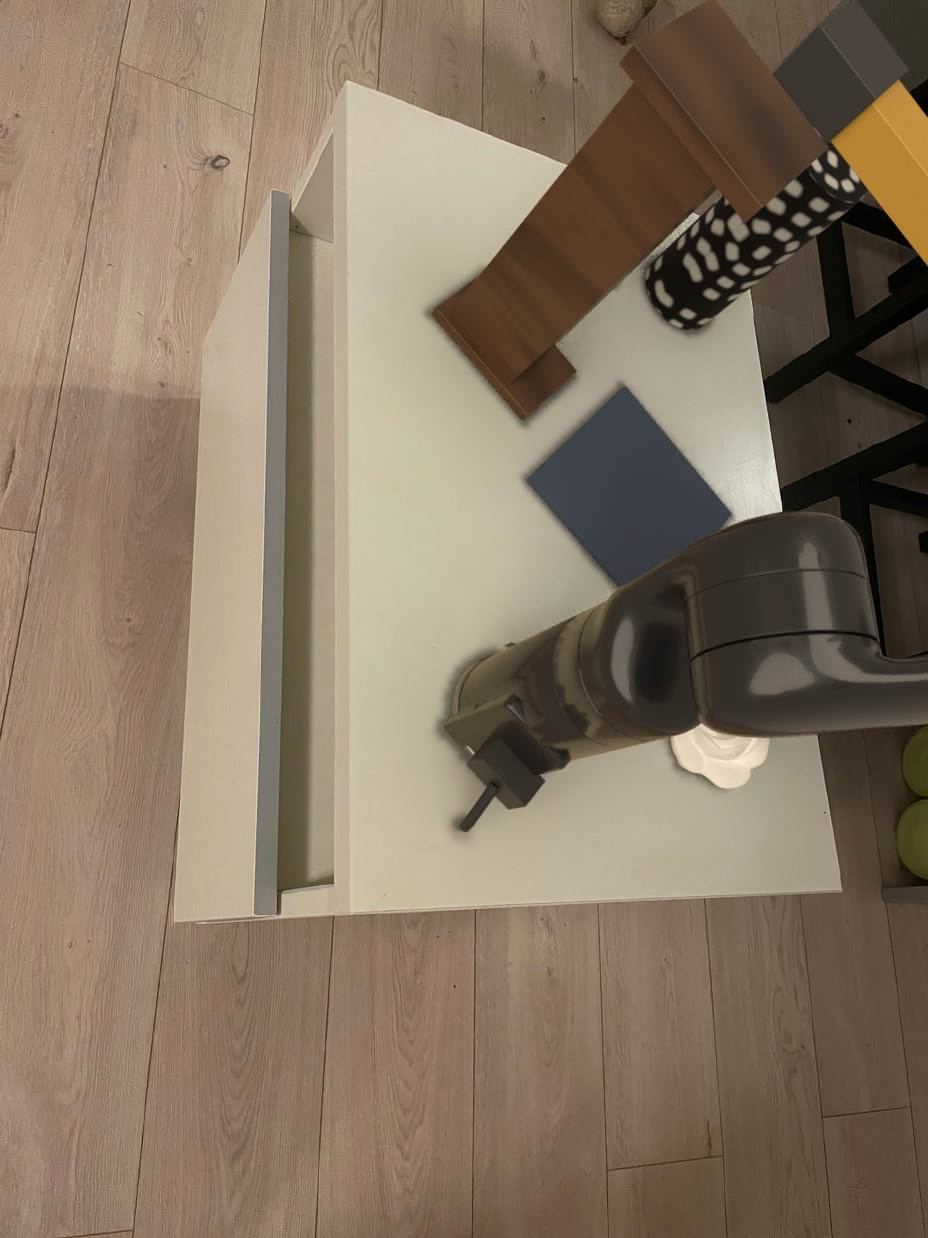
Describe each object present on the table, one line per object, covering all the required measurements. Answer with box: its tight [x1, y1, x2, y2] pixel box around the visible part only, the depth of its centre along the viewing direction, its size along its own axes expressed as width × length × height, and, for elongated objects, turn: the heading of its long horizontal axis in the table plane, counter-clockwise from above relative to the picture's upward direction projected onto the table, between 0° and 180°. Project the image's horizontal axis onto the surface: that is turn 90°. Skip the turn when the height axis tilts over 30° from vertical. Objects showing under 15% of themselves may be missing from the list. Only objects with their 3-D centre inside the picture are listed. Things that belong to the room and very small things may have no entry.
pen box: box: [772, 0, 928, 267], centre depth 53 cm, size 5×20×4 cm, turn 48°
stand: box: [430, 0, 829, 421], centre depth 69 cm, size 10×12×30 cm
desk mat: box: [526, 385, 733, 588], centre depth 84 cm, size 16×16×1 cm
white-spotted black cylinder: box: [645, 119, 868, 331], centre depth 86 cm, size 8×8×20 cm
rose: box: [670, 723, 771, 790], centre depth 79 cm, size 10×4×10 cm
